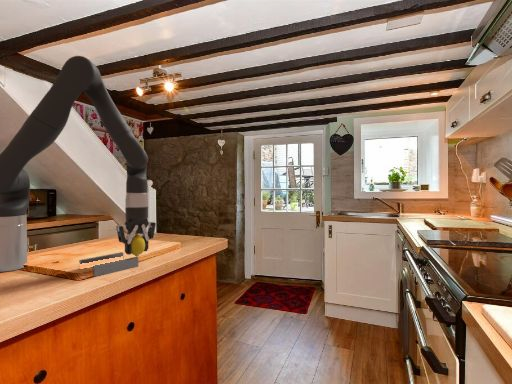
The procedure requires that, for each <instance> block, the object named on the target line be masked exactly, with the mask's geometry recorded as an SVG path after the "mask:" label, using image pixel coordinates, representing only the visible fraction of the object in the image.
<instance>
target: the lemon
mask: <svg viewBox="0 0 512 384" xmlns="http://www.w3.org/2000/svg"><path fill="white" fill-rule="evenodd" d="M130 244H131V254H130V255H133V256H134V257H139V255H142V254H143V253H144V252H145V251H144V249H145V241H144V239H143V237H142V236H141V235H140V234H135V235H134V237H133V238H132V240H131V243H130Z"/></svg>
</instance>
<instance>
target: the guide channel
mask: <svg viewBox="0 0 512 384" xmlns="http://www.w3.org/2000/svg"><path fill="white" fill-rule="evenodd" d="M121 256H123V257H124V252H123V251H121V252H120V251H119V252H115V253H110V254H104V255H99V256H95V257H88V258H84V259H78V263H80V264H82V263H89V262H93V261H98V260H103V259H109V258H115V257H121ZM136 267H139V256H137V257H136V256H134V257H129V258H123V260H119V261H115V262H110V263H105V264H100V265H95V266H93V267H92V272H93V271H94V276H93V277H99V276H104V275H107V274H111V273H116V272H119V271H121V272H122V271H125V270H128V269H132V268H136Z"/></svg>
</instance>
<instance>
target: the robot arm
mask: <svg viewBox="0 0 512 384" xmlns="http://www.w3.org/2000/svg"><path fill="white" fill-rule="evenodd" d="M82 93H84V95H85V96H86V97H87V98H88V99H89V101H90V102H91V103H92V105H93V107H94V109H95V110H96V111H97V114H98V117H99V118H100V121H101V123H102V125H103V126H104V129H105V130H106V132H107V133H108V135H109V137H110V138H111V140H112V141H113V143H114V144H115V145H116V146H117V147H118V149H119V150H120V153H121V154H122V156H123V157H124V159H125V161H126V181H125V183H126V185H125V186H126V187H125V188H126V189H125V192H126V194H125V201H124V202H125V206H124V207H125V208H124V209H125V211H124V212H125V213H124V215H125V216H124V217H125V222H124V224H122V225H116V228H115V229H116V233H117V239H118V242H119V243H122V244H124V253H125V254H126V255H129V256H130V255H132V254H131V244H130V243H131V240H132V238H133V237H134V236H135V235H137V234H138V235H139V236H141V237H143V239H144V241H145V249H144V251H143V252H148V250H149V241H150V240H152V239H154V236H155V231H156V225H157V223H156V222H155V221H150V222H149V220H148V218H149V195H148V191H149V189H148V184H149V183H148V179H147V170H148V168H147V167H148V165H147V164H148V162H149V156H148V154H147V152H146V151H145V149H144V147H143V146H142V144H141V143H140V142H139V140H138V139H137V138H136V137H135V135H134V133H133V131H132V129H131V127H130V125H129V124H128V123H127V121H126V120H125V118H124V117H123V115H122V113H121V112H120V110H119V109H118V107H117V106H116V104H115V103H114V101H113V99H112V97H111V95H110V94H109V92H108V90H107V88H106V85H105V82H104V79H103V77H102V74H101V72H100V70H99V68H98V66H96V64H94V63H93V62H92V61H91V60H90V58H89V59H88V58H87V57H85V56H82V55H75V56H71V57H69V58H68V59H67V60H66V61H65V63H64V64H63V65H62V67H61V69H60V71H59V73H58V75H57V76H56V79H55V80H54V82H53V84H52V85H51V87H50V88H49V90H47V92H46V94H44V96H43V98H42V99H41V100H40V101H39V103H37V105H36V106H35V108H34V109H33V110H32V112H31V113H30V114H29V115H28V117H27V118H26V120H25V121H24V123H23V124H22V126H21V127H20V129H19V130H18V131H17V132H16V134H15V135H14V136H13V138H12V139H11V141H10V142H9V143H8V144H7V146H6V147H5V148H4V149H3V150H2V152H1V153H0V272H1V273H2V272H10V271H16V270H20V269H23V268H25V267H24V266H23V264H25V263H27V264H28V228H27V227H28V226H27V225H28V223H27V222H28V221H27V217H28V216H27V210H28V208H29V205H30V198H31V197H30V195H31V193H30V192H31V179H30V176H29V174H28V172H27V171H26V170H25V169H24V168H25V166H26V165H27V164H28V163H29V162H30V161H31V160H33V158H35V157H36V156H38V155H39V154H40V153H42V152H43V151H45V150H46V149H48V148H49V147H50V146H51V145H52V144H54V142H55V141H56V140H57V138H58V137H59V136H60V134H61V133H62V131H63V130H64V129H65V127H66V125H67V123H68V121H69V117H70V114H71V111H72V107H73V105H74V103H75V102H76V100H77V99H78V98H79V97H80V96H81V94H82ZM147 228H148V229H147ZM125 231H126V233H125Z"/></svg>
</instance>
